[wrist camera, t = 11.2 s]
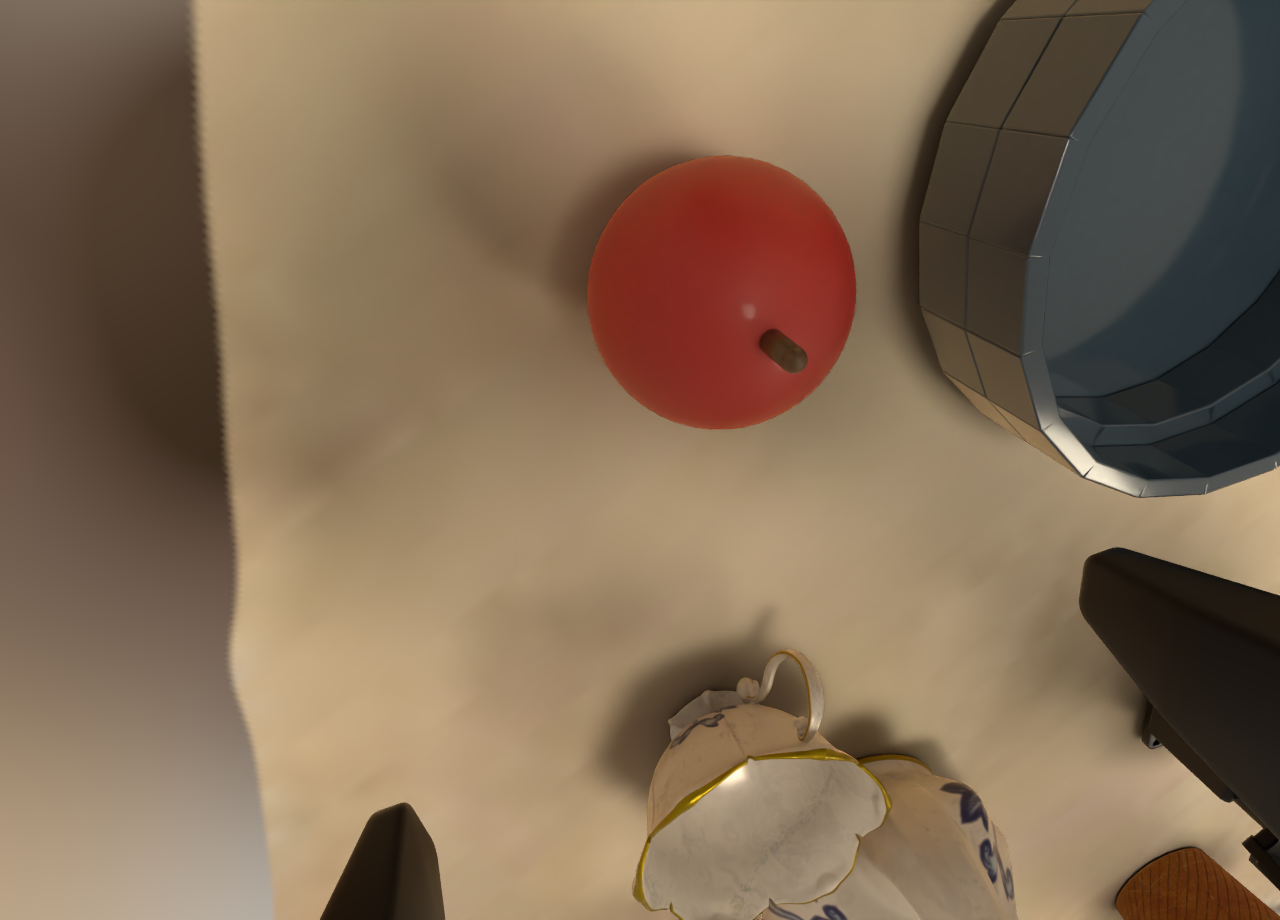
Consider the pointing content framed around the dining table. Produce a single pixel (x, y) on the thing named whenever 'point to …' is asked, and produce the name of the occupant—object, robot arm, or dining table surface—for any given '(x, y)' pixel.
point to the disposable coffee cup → (1188, 892)
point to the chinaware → (809, 823)
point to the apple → (721, 292)
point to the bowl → (1116, 239)
